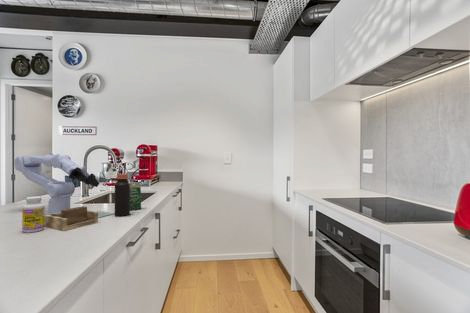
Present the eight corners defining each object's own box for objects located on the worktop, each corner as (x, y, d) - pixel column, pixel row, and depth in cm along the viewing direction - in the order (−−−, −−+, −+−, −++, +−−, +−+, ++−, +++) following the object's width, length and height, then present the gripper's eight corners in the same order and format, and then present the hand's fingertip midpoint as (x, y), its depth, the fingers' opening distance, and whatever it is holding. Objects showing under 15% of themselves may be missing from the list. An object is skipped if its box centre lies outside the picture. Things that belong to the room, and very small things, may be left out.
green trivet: (76, 216, 122) (76, 215, 122) (99, 211, 133) (99, 210, 133) (92, 219, 117) (92, 218, 117) (115, 214, 128) (115, 213, 128)
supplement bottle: (20, 234, 95) (20, 199, 95) (24, 229, 101) (24, 196, 101) (42, 231, 98) (42, 198, 98) (45, 227, 104) (45, 195, 104)
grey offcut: (51, 219, 109) (51, 213, 109) (67, 215, 115) (67, 210, 115) (57, 220, 107) (57, 214, 107) (73, 216, 114) (73, 211, 114)
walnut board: (60, 227, 104) (61, 210, 104) (82, 222, 112) (82, 206, 112) (65, 228, 103) (65, 210, 103) (86, 223, 111) (87, 206, 111)
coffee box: (125, 211, 134) (125, 186, 134) (124, 210, 137) (124, 185, 137) (141, 209, 138) (141, 185, 138) (139, 208, 141) (140, 184, 141)
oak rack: (38, 225, 107) (38, 214, 107) (72, 217, 119) (72, 208, 119) (64, 231, 99) (64, 219, 99) (97, 222, 112) (97, 212, 112)
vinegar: (124, 217, 121) (124, 174, 121) (111, 216, 123) (111, 174, 123) (132, 213, 128) (132, 173, 128) (120, 213, 129) (120, 173, 129)
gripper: (66, 157, 115) (86, 170, 111) (89, 167, 128) (107, 179, 124) (56, 170, 114) (75, 184, 109) (80, 179, 127) (98, 192, 122)
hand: (92, 182), depth 116 cm, fingers open, 7 cm apart
